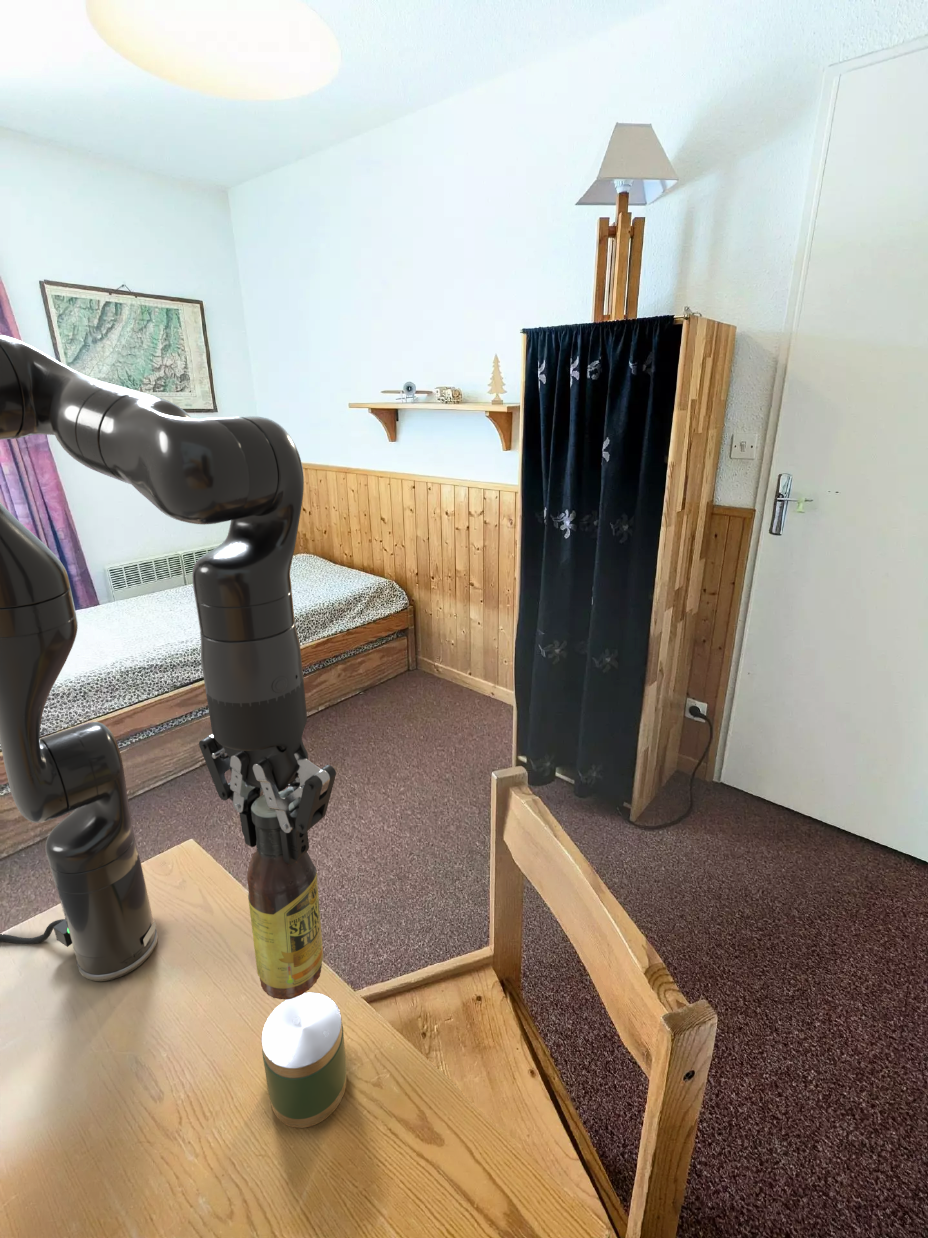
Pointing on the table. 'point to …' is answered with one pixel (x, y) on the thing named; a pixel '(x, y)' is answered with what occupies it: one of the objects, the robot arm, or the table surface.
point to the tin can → (304, 1059)
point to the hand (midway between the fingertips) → (275, 848)
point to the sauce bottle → (283, 911)
